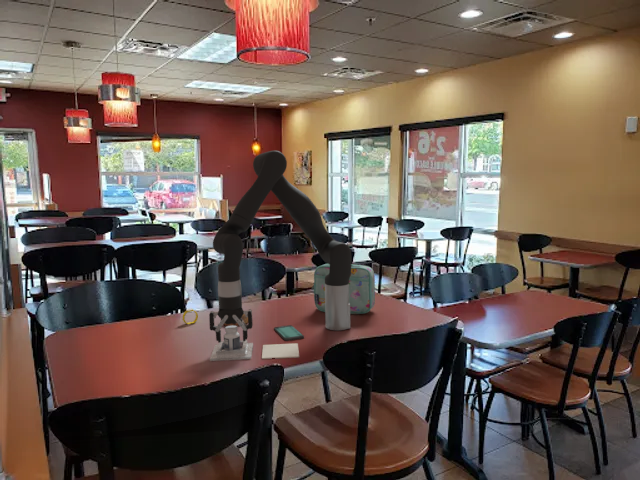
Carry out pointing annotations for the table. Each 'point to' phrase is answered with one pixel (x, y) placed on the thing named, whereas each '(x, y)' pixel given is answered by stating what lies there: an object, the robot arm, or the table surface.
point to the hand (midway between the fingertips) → (232, 341)
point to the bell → (237, 323)
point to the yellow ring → (187, 312)
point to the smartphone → (288, 333)
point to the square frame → (232, 352)
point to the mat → (280, 351)
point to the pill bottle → (231, 338)
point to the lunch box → (358, 288)
